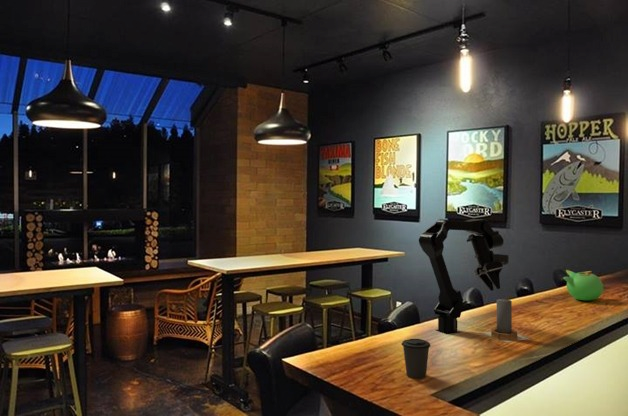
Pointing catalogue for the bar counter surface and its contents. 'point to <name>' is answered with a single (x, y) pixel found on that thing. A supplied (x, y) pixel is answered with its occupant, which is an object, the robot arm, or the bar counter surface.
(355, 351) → the bar counter surface
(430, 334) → the bar counter surface
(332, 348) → the bar counter surface
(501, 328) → the dark grey cylinder
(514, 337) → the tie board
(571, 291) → the toy bird
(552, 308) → the bar counter surface
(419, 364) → the coffee cup
